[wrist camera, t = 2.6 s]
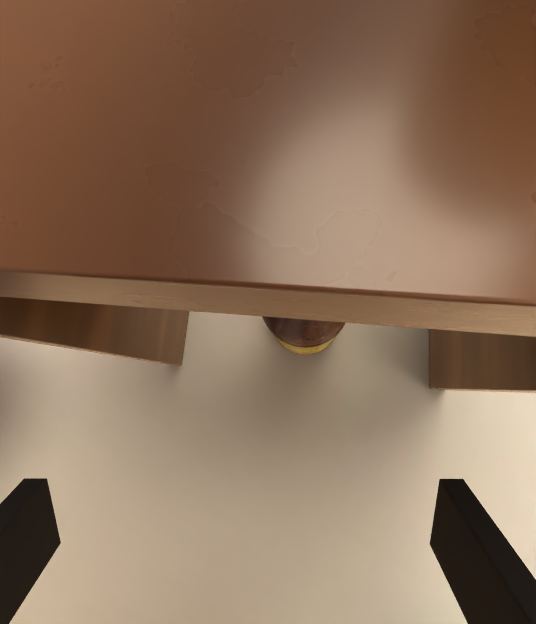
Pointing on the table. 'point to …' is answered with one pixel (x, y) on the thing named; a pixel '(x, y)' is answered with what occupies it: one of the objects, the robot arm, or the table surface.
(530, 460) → the table surface
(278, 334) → the sauce bottle
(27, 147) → the shelf
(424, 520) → the table surface
